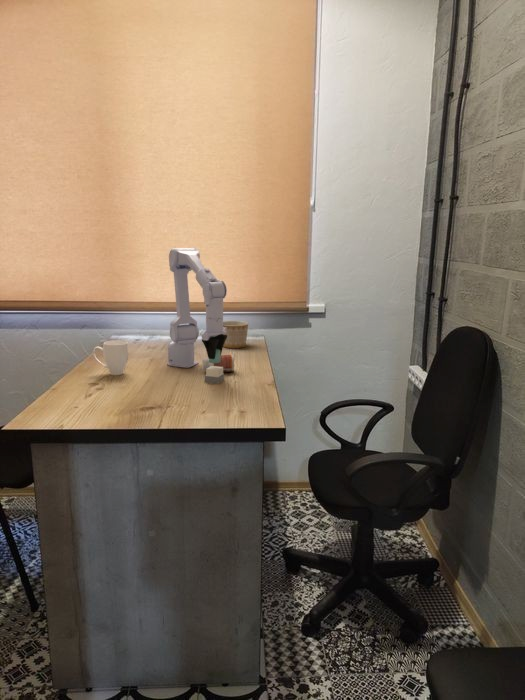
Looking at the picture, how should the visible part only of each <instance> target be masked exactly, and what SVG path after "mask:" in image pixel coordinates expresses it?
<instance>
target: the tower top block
mask: <svg viewBox="0 0 525 700" xmlns="http://www.w3.org/2000/svg"><path fill="white" fill-rule="evenodd" d="M205 372H206V373H205V375H206V376H211V377H219V376H221V375H222V374H224V372H223V367H218V366H210V367H209V368H207V369H206V370H205Z"/></svg>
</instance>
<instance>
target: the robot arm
mask: <svg viewBox="0 0 525 700" xmlns="http://www.w3.org/2000/svg"><path fill="white" fill-rule="evenodd" d="M168 253H169V254H168V262H169V264H168V265H169V271H170V272H172V273H173V282H174V291H175V296H174V297H175V307H176V317H175V318H174V319H173V320H172V321H170V324H169V326H170V327H169V328H170V329H169V338H170V340H171V341H170V342H169V344H168V347H167V348H168V349H167V352H168V353H167V355H168V357H167V358H168V359H167V360H168V362H167V366H169V367H170V366H171V367H178V368H187V369H191V368H193V367H194V366H196V365H199V363H200V362H199V361H195V343H196V342H197V340H198V338H199V335H200V332H199V331H200V330H199V329H200V328H199V327H198V323H197V322H198V321H197V320H196V319H195V318H193V317H192V316H191V307H190V306H191V305H190V294H189V281H188V280H189V279H188V274H189V273H190V272H191V271H193V272H194V274H195V280H196V281H197V283H198V284H199V286H200V288H202V290H201V291H202V296H203V300H204V304H205V331H204V332H203V333H202V334H201V342H202V343H203V345H204V347H205V352H206V354H207V358H209V359H215V355H216V349H219V350H220V356H221V355H222V353H223V350H224V349H223V348H224V347H223V345H224V342H225V340H226V338H227V335H223V334H226V333H227V327H223V322H224V299H225V298H226V296H227V291H228V290H227V286H226V285H227V284H225V282H224V281H223V280H220V279H219V280H218V279H217V278H216V276H215V275H214V274H213V272H212V271H211V269H210V268H207V267H204V265H203V263H202V261H201V258H200V257H201V255H200V251H199V250H198V248H197V247H190V248H189V247H187V248H186V247H179V248H178V247H177V248H176V247H172V248H171V249H170V250H169V252H168Z"/></svg>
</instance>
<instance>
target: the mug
mask: <svg viewBox="0 0 525 700" xmlns="http://www.w3.org/2000/svg"><path fill="white" fill-rule="evenodd" d="M102 346H103V347H101V346H95V347H94V348H93V350H92V356H93V359H94V360H95V361H96V362H97V363H98V364H100V365H101V366H102V367H104V368H106V369H108V371H109V374H110V375H112V376H121V375H123V374H124V372H125V369H126V366H127V363H128V359H129V343H128V341H127V340H121V339H114V340H113V339H112V340H106V341H104V342H103V345H102ZM96 349H99V350H100V351H101V352H102V354H103V359H104V362H105V363H103V362H101V361H100V360H99V359H98V358H97V356H96Z"/></svg>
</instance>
